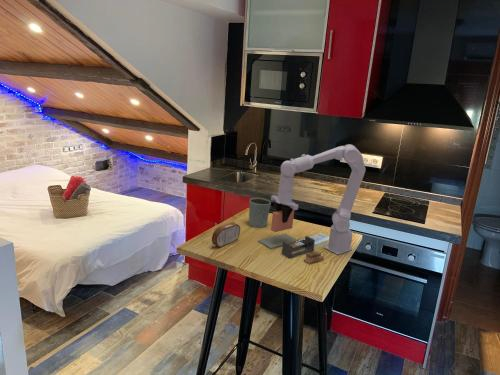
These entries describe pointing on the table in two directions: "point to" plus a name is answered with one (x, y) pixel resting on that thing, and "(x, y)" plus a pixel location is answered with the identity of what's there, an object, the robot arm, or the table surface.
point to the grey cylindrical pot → (259, 212)
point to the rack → (288, 248)
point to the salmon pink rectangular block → (278, 223)
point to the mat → (277, 241)
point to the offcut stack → (313, 257)
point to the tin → (226, 234)
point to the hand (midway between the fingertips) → (282, 221)
